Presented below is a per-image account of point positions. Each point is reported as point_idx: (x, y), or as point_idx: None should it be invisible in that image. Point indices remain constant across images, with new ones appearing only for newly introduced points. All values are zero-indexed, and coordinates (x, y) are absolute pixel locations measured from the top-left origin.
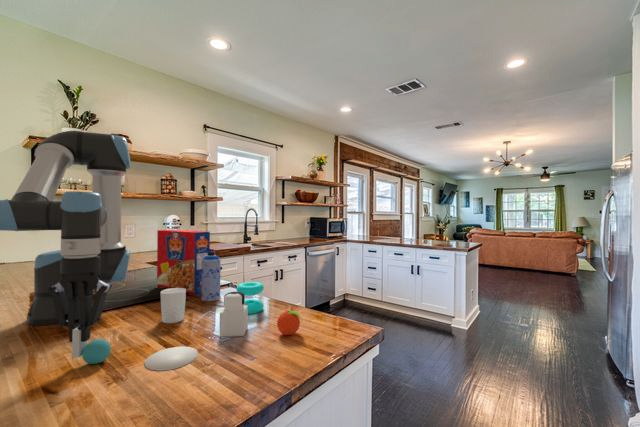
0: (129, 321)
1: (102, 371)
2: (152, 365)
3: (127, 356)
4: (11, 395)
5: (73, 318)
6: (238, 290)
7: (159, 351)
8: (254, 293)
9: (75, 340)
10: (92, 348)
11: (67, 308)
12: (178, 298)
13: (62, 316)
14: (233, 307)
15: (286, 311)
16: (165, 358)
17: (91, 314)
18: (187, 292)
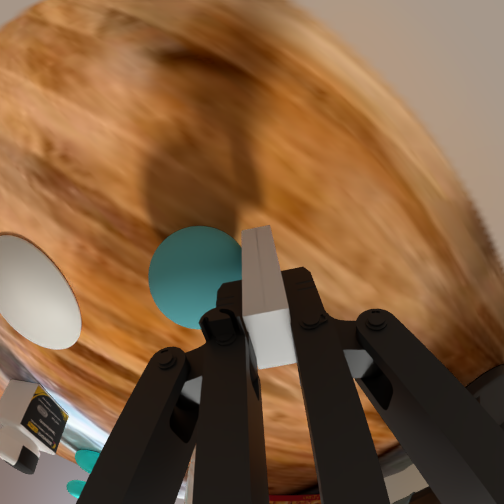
0: None
1: (127, 203)
2: (26, 254)
3: (141, 301)
4: (309, 28)
5: (301, 378)
6: None
7: (77, 327)
8: (71, 481)
9: (260, 268)
10: (175, 259)
11: (406, 440)
12: (187, 497)
13: (398, 370)
14: (2, 430)
15: None
16: (31, 292)
17: (150, 419)
18: (288, 497)
